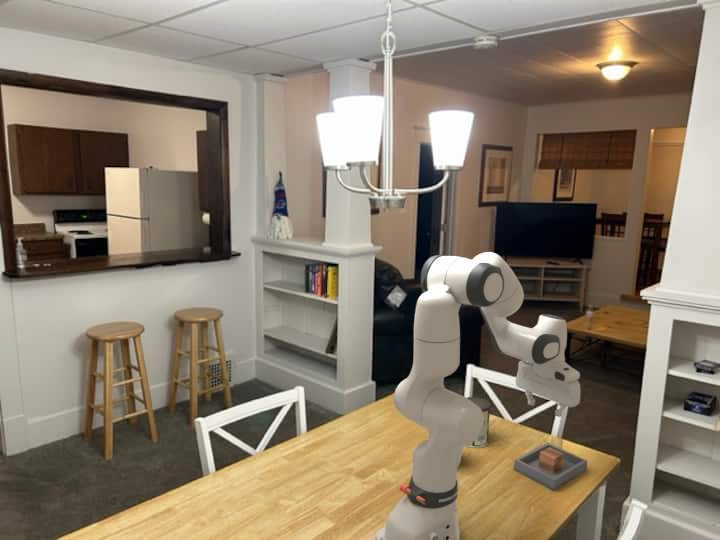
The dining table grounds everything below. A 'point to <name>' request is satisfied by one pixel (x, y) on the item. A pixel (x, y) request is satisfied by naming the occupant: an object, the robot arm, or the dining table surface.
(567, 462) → the tray
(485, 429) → the coffee can
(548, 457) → the block
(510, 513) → the dining table surface
